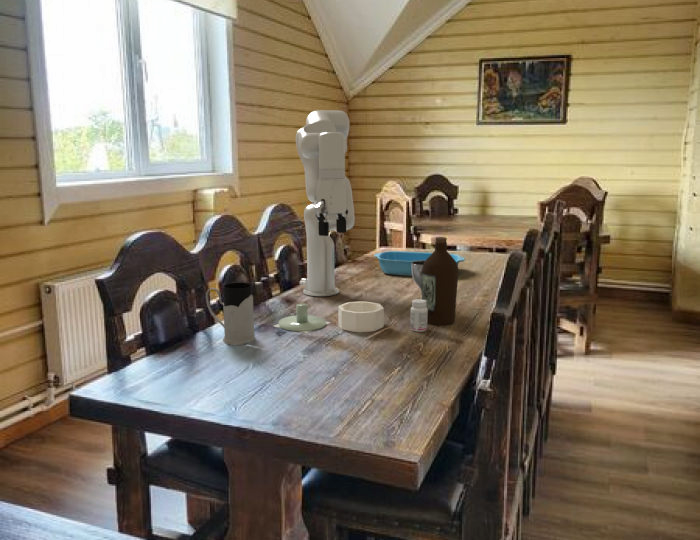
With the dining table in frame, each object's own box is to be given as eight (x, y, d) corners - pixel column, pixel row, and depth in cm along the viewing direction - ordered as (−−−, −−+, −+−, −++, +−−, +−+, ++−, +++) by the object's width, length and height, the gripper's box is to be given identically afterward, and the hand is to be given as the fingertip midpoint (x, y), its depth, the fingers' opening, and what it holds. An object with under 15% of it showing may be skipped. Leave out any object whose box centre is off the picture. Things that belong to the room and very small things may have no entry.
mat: (272, 327, 176) (272, 326, 176) (298, 317, 186) (298, 316, 186) (306, 334, 170) (306, 332, 170) (331, 324, 180) (331, 322, 180)
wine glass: (434, 312, 192) (436, 265, 189) (409, 311, 194) (410, 264, 191) (436, 306, 200) (437, 260, 197) (411, 304, 201) (412, 259, 198)
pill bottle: (428, 328, 176) (429, 299, 174) (425, 332, 172) (425, 303, 170) (412, 326, 178) (413, 298, 176) (408, 331, 173) (409, 302, 171)
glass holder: (245, 346, 160) (243, 290, 157) (199, 340, 165) (196, 286, 162) (261, 336, 168) (260, 283, 165) (217, 331, 173) (214, 279, 170)
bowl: (331, 329, 175) (331, 308, 174) (354, 319, 185) (354, 299, 184) (367, 336, 168) (368, 315, 167) (389, 325, 179) (390, 305, 177)
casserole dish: (464, 268, 260) (465, 252, 259) (463, 280, 239) (464, 262, 237) (378, 265, 267) (378, 249, 266) (370, 276, 246) (370, 258, 244)
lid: (268, 326, 176) (268, 306, 175) (297, 315, 187) (297, 296, 186) (306, 334, 169) (306, 313, 168) (334, 322, 180) (334, 303, 179)
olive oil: (443, 314, 190) (446, 234, 185) (464, 323, 180) (467, 239, 175) (414, 318, 186) (415, 236, 181) (433, 327, 176) (435, 241, 171)
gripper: (336, 175, 188) (337, 230, 191) (304, 175, 174) (305, 236, 176) (358, 175, 185) (358, 232, 187) (326, 175, 170) (327, 237, 173)
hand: (332, 234), depth 182 cm, fingers open, 9 cm apart
